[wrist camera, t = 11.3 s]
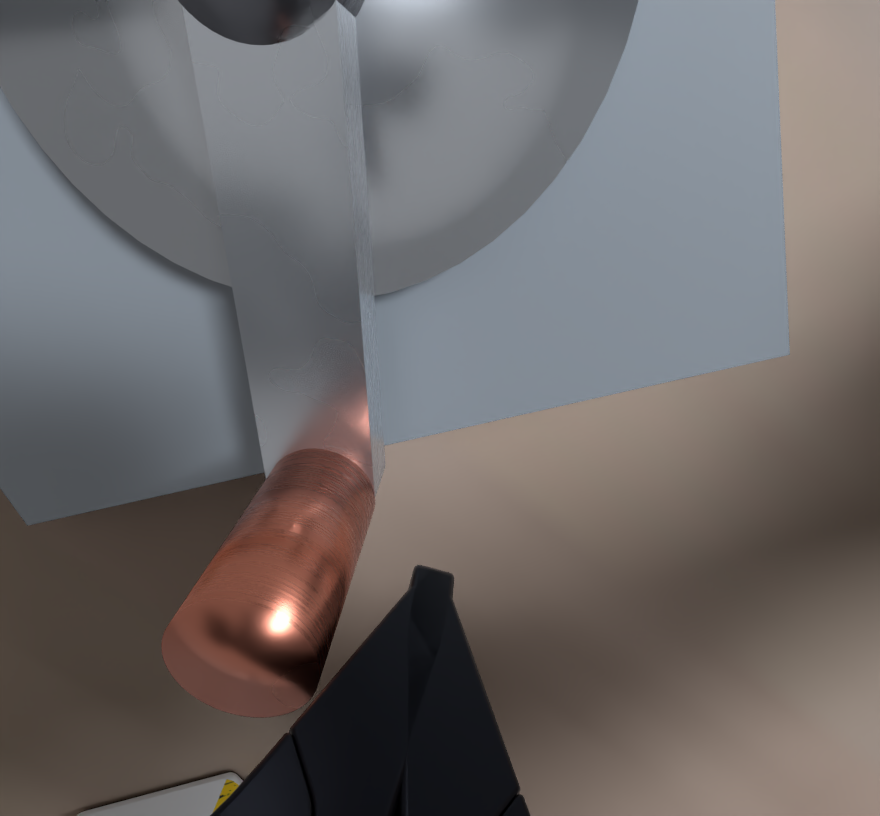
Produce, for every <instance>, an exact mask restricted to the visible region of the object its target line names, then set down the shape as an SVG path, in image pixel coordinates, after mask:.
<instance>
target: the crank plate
mask: <svg viewBox="0 0 880 816" xmlns="http://www.w3.org/2000/svg"><path fill="white" fill-rule="evenodd" d="M374 301H375V316H376V331H377V346H378V361H379V376H380V391H381V406H382V421H383V436H384V445H389V444H393V443H398V442H402V441H407V440H411V439H416V438H420V437H425V436H429V435H433V434H438V433H442V432H447V431H451V430H456V429H460V428H465V427H469V426H474V425H478V424H483V423H487V422H491V421H496V420H500V419H505V418H509V417H514V416H518V415H523V414H527V413H532V412H536V411H540V410H545V409H549V408H554V407H558V406H563V405H567V404H572V403H576V402H581V401H585V400H589V399H594V398H598V397H603V396H607V395H612V394H616V393H621V392H625V391H630V390H634V389H639V388H643V387H647V386H652V385H656V384H661V383H665V382H670V381H674V380H679V379H683V378H688V377H692V376H696V375H701V374H705V373H710V372H714V371H719V370H723V369H728V368H732V367H737V366H741V365H745V364H750V363H754V362H759V361H763V360H768V359H772V358H777V357H781V356H786V355H790V350H789V326H788V302H787V278H786V255H785V231H784V207H783V183H782V159H781V135H780V111H779V87H778V63H777V39H776V15H775V0H639V1H638V4H637V8H636V12H635V15H634V19H633V22H632V26H631V29H630V33H629V37H628V40H627V44H626V46H625V49H624V51H623V54H622V56H621V59H620V61H619V64H618V66H617V69H616V71H615V74H614V76H613V79H612V81H611V84H610V86H609V89H608V91H607V94H606V96H605V98H604V100H603V102H602V104H601V105H600V107H599V109H598V111H597V113H596V115H595V117H594V119H593V120H592V122H591V124H590V126H589V128H588V130H587V132H586V134H585V135H584V137H583V139H582V141H581V142H580V144H579V145H578V147H577V148H576V149H575V151H574V152H573V154H572V155H571V157H570V158H569V160H568V161H567V162H566V164H565V165H564V167H563V168H562V170H561V171H560V173H559V174H558V176H557V177H556V178H555V180H554V181H553V182H552V183H551V184H550V185H549V187H548V188H547V189H546V190H545V191H544V192H543V193H542V194H541V196H540V197H539V198H538V199H537V200H536V201H535V202H534V204H533V205H532V206H531V207H530V208H529V209H528V210H527V211H526V213H524V214H523V215H522V216H521V217H520V218H519V219H518V220H517V221H515V222H514V223H513V224H512V225H511V226H510V227H509V228H508V229H506V230H505V231H504V232H503V233H502V234H501V235H500V236H498V237H497V238H496V239H495V240H494V241H493V242H491V243H490V244H488V245H487V246H485V247H484V248H482V249H481V250H479V251H478V252H476V253H475V254H473V255H472V256H470V257H469V258H467V259H466V260H464V261H463V262H462V263H460V264H458V265H456V266H454V267H452V268H450V269H448V270H446V271H444V272H442V273H440V274H438V275H436V276H434V277H432V278H430V279H428V280H426V281H423V282H420V283H417V284H414V285H411V286H408V287H405V288H402V289H400V290H397V291H394V292H391V293H386V294H381V295H375V296H374ZM264 472H265V471H264V465H263V459H262V454H261V448H260V442H259V437H258V431H257V425H256V420H255V414H254V408H253V403H252V397H251V391H250V386H249V380H248V375H247V369H246V363H245V358H244V352H243V346H242V341H241V335H240V329H239V324H238V318H237V312H236V307H235V301H234V295H233V290H232V287H230V286H227V285H224V284H221V283H218V282H215V281H212V280H209V279H207V278H205V277H203V276H201V275H199V274H197V273H194V272H192V271H190V270H188V269H186V268H184V267H182V266H180V265H177V264H175V263H173V262H172V261H170V260H169V259H167V258H165V257H164V256H162V255H160V254H159V253H157V252H156V251H154V250H152V249H151V248H149V247H147V246H146V245H144V244H143V243H141V242H139V241H138V240H137V239H135V238H134V237H133V236H132V235H130V234H129V233H128V232H126V231H125V230H124V229H122V228H121V227H120V226H119V225H117V224H116V223H115V222H113V221H112V220H111V219H110V218H108V217H107V216H106V215H105V214H104V213H102V212H101V211H100V210H99V209H98V208H97V207H96V206H95V205H94V204H93V203H92V202H91V201H90V200H89V199H88V198H87V197H86V196H85V195H83V194H82V193H81V192H80V191H79V190H78V189H77V188H76V187H75V186H74V185H73V184H72V183H71V182H70V181H69V179H68V178H67V177H66V176H65V175H64V174H63V172H62V171H61V170H60V169H59V168H58V167H57V166H56V164H55V163H54V162H53V161H52V160H51V159H50V157H49V156H48V155H47V154H46V153H45V152H44V151H43V149H42V148H41V147H40V145H39V144H38V143H37V141H36V140H35V138H34V137H33V136H32V134H31V133H30V131H29V130H28V129H27V127H26V126H25V124H24V123H23V122H22V120H21V119H20V117H19V116H18V115H17V113H16V112H15V110H14V109H13V107H12V106H11V104H10V102H9V101H8V99H7V97H6V96H5V94H4V92H3V90H2V89H1V87H0V489H1V490H2V491H3V493H4V494H5V495H6V497H7V498H8V500H9V501H10V502H11V504H12V505H13V507H14V508H15V509H16V511H17V512H18V513H19V515H20V516H21V518H22V519H23V520H24V522H25V523H26V524H27V526H28V525H32V524H37V523H41V522H46V521H50V520H55V519H59V518H64V517H68V516H73V515H77V514H81V513H86V512H90V511H95V510H99V509H104V508H108V507H113V506H117V505H122V504H126V503H130V502H135V501H139V500H144V499H148V498H153V497H157V496H162V495H166V494H171V493H175V492H179V491H184V490H188V489H193V488H197V487H202V486H206V485H211V484H215V483H220V482H224V481H228V480H233V479H237V478H242V477H246V476H251V475H255V474H260V473H264Z"/></svg>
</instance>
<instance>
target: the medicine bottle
mask: <svg viewBox="0 0 880 816" xmlns="http://www.w3.org/2000/svg"><path fill="white" fill-rule="evenodd" d="M242 782H243V780H242V779H241V778H240V777H239V776H238V775H237V774H235V773H233V772H228V773H225V774H221V775H217V776H214V777H210V778H206V779H202V780H199V781H195V782H191V783H187V784H184V785H180V786H176V787H172V788H169V789H165V790H161V791H158V792H154V793H150V794H146V795H143V796H139V797H135V798H131V799H128V800H124V801H120V802H116V803H113V804H109V805H105V806H102V807H98V808H94V809H90V810H87V811H84V812H81V813H79V814H78V815H77V816H210V815H211V814H212V813H213V812H214V811H215V810H216V809H217V808H218V807H219V806H220V805H221V804H222V803H223V802H224V801H225V800H226V799H227V798H228V797H229V796H230V795H231V794H232V793H233V792H234V791H235V790H236V788H237V787H238V786H239V785H240V784H241V783H242Z"/></svg>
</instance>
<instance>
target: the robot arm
mask: <svg viewBox="0 0 880 816" xmlns="http://www.w3.org/2000/svg"><path fill="white" fill-rule="evenodd" d="M453 586H454V576H453V575H452V574H451V573H449V572H445V571H441V570H437V569H434V568H430V567H426V566H422V565H417V566H415V567H414V570H413V574H412V577H411V581H410V585H409V589H408V591H407V592H406V593H405V594H404V595H403V597H402V598H401V599H400V600H399V601H398V602H397V604H396V605H395V606H394V607H393V608H392V610H391V611H390V612H389V613H388V614H387V615H386V617H385V618H384V619H383V620H382V621H381V622H380V624H379V625H378V626H377V627H376V628H375V629H374V631H373V632H372V633H371V634H370V635H369V636H368V638H367V639H366V640H365V641H364V642H363V643H362V645H361V646H360V647H359V648H358V649H357V650H356V652H355V653H354V654H353V655H352V656H351V658H350V659H349V660H348V661H347V662H346V663H345V665H344V666H343V667H342V668H341V669H340V670H339V672H338V673H337V674H336V675H335V676H334V677H333V679H332V680H331V681H330V682H329V683H328V684H327V686H326V687H325V688H324V689H323V690H322V691H321V693H320V694H319V695H318V696H317V697H316V699H315V700H314V701H313V702H312V703H311V704H310V706H309V707H308V708H307V709H306V710H305V711H304V713H303V714H302V715H301V716H300V717H299V718H298V720H297V721H296V722H295V723H294V724H293V725H292V727H291V728H290V731H289V733H286V734H284V735H283V737H282V738H281V739H280V740H279V741H278V742H277V744H276V745H275V746H274V747H273V748H272V749H271V751H270V752H269V753H268V754H267V755H266V756H265V758H264V759H263V760H262V761H261V762H260V763H259V764H258V765H257V767H256V768H255V769H254V770H253V771H252V772H251V773H250V774H249V775H248V776H247V777H246V779H245V780H244V781H243V782H242V783H241V784H240V785H239V786H238V787H237V788H236V790H235V791H234V792H233V793H232V794H231V795H230V796H229V797H228V798H227V799H226V800H225V801H224V802H223V803H222V804H221V805H220V806H219V807H218V808H217V809H216V810H215V811H214V812H213V813H212V814H211V815H210V816H530V813H529V810H528V808H527V805H526V802H525V799H524V797H523V795H520V794H519V792H520V786H519V783H518V780H517V778H516V775H515V772H514V769H513V767H512V764H511V761H510V758H509V755H508V753H507V750H506V747H505V744H504V741H503V739H502V736H501V733H500V730H499V727H498V725H497V722H496V719H495V716H494V714H493V711H492V708H491V705H490V702H489V700H488V697H487V694H486V691H485V688H484V686H483V683H482V680H481V677H480V675H479V672H478V669H477V666H476V663H475V661H474V658H473V655H472V652H471V649H470V647H469V644H468V641H467V638H466V635H465V633H464V630H463V627H462V624H461V622H460V619H459V616H458V613H457V610H456V608H455V605H454V602H453V599H452V598H453Z"/></svg>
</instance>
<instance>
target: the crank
mask: <svg viewBox="0 0 880 816" xmlns="http://www.w3.org/2000/svg"><path fill="white" fill-rule="evenodd" d="M638 1H639V0H0V87H1V89H2V90H3V92H4V94H5V96H6V97H7V99H8V101H9V102H10V104H11V106H12V107H13V109H14V110H15V112H16V113H17V115H18V116H19V117H20V119H21V120H22V122H23V123H24V124H25V126H26V127H27V129H28V130H29V131H30V133H31V134H32V136H33V137H34V138H35V140H36V141H37V143H38V144H39V145H40V147H41V148H42V149H43V151H44V152H45V153H46V154H47V155H48V156H49V157H50V159H51V160H52V161H53V162H54V163H55V164H56V166H57V167H58V168H59V169H60V170H61V171H62V172H63V174H64V175H65V176H66V177H67V178H68V179H69V181H70V182H71V183H72V184H73V185H74V186H75V187H76V188H77V189H78V190H79V191H80V192H81V193H82V194H83V195H85V196H86V197H87V198H88V199H89V200H90V201H91V202H92V203H93V204H94V205H95V206H96V207H97V208H98V209H99V210H100V211H101V212H102V213H104V214H105V215H106V216H107V217H108V218H110V219H111V220H112V221H113V222H115V223H116V224H117V225H119V226H120V227H121V228H122V229H124V230H125V231H126V232H128V233H129V234H130V235H132V236H133V237H134V238H135V239H137V240H138V241H139V242H141V243H143V244H144V245H146V246H147V247H149V248H151V249H152V250H154V251H156V252H157V253H159V254H160V255H162V256H164V257H165V258H167V259H169V260H170V261H172V262H173V263H175V264H177V265H180V266H182V267H184V268H186V269H188V270H190V271H192V272H194V273H197V274H199V275H201V276H203V277H205V278H207V279H209V280H212V281H215V282H218V283H221V284H224V285H227V286H230V287H232V290H233V295H234V301H235V307H236V312H237V318H238V324H239V329H240V335H241V341H242V346H243V352H244V358H245V363H246V369H247V375H248V380H249V386H250V391H251V397H252V403H253V408H254V414H255V420H256V425H257V431H258V437H259V442H260V448H261V454H262V459H263V465H264V471H265V476H266V480H265V481H264V483H263V484H262V486H261V487H260V489H259V490H258V492H257V493H256V495H255V496H254V498H253V499H252V501H251V502H250V504H249V505H248V507H247V508H246V510H245V511H244V513H243V514H242V516H241V517H240V519H239V520H238V522H237V523H236V525H235V526H234V528H233V529H232V531H231V532H230V533H229V535H228V536H227V538H226V539H225V541H224V542H223V544H222V545H221V547H220V548H219V550H218V551H217V553H216V554H215V556H214V557H213V559H212V560H211V562H210V563H209V565H208V566H207V568H206V569H205V571H204V572H203V574H202V575H201V577H200V578H199V580H198V581H197V583H196V584H195V586H194V587H193V589H192V590H191V592H190V593H189V595H188V596H187V598H186V599H185V601H184V602H183V604H182V605H181V607H180V608H179V609H178V611H177V612H176V614H175V615H174V617H173V618H172V620H171V621H170V623H169V624H168V626H167V628H166V629H165V631H164V634H163V637H162V644H161V647H162V655H163V659H164V662H165V664H166V667H167V668H168V670H169V672H170V673H171V675H172V676H173V677H174V679H175V680H176V681H177V682H178V683H179V684H180V685H181V686H182V687H183V688H184V689H185V690H186V691H187V692H188V693H190V694H191V695H192V696H194V697H195V698H197V699H198V700H200V701H202V702H203V703H205V704H207V705H209V706H211V707H214V708H216V709H219V710H221V711H224V712H227V713H231V714H235V715H240V716H245V717H258V718H264V717H275V716H280V715H284V714H287V713H290V712H292V711H295V710H297V709H298V708H300V707H302V706H303V705H304V704H306V703H307V702H308V701H309V700H310V699H311V697H312V696H313V695H314V693H315V691H316V689H317V686H318V683H319V680H320V677H321V674H322V671H323V667H324V664H325V661H326V658H327V655H328V652H329V649H330V646H331V642H332V639H333V636H334V633H335V630H336V627H337V624H338V621H339V618H340V614H341V611H342V608H343V605H344V602H345V599H346V596H347V593H348V589H349V586H350V583H351V580H352V577H353V574H354V571H355V568H356V564H357V561H358V558H359V555H360V552H361V549H362V546H363V543H364V540H365V536H366V533H367V530H368V527H369V524H370V521H371V518H372V515H373V511H374V507H375V496H376V493H377V490H378V487H379V484H380V481H381V478H382V475H383V472H384V469H385V451H384V436H383V421H382V406H381V391H380V376H379V361H378V346H377V331H376V316H375V301H374V296H375V295H381V294H386V293H391V292H394V291H397V290H400V289H402V288H405V287H408V286H411V285H414V284H417V283H420V282H423V281H426V280H428V279H430V278H432V277H434V276H436V275H438V274H440V273H442V272H444V271H446V270H448V269H450V268H452V267H454V266H456V265H458V264H460V263H462V262H463V261H464V260H466V259H467V258H469V257H470V256H472V255H473V254H475V253H476V252H478V251H479V250H481V249H482V248H484V247H485V246H487V245H488V244H490V243H491V242H493V241H494V240H495V239H496V238H497V237H498V236H500V235H501V234H502V233H503V232H504V231H505V230H506V229H508V228H509V227H510V226H511V225H512V224H513V223H514V222H515V221H517V220H518V219H519V218H520V217H521V216H522V215H523V214H524V213H526V211H527V210H528V209H529V208H530V207H531V206H532V205H533V204H534V202H535V201H536V200H537V199H538V198H539V197H540V196H541V194H542V193H543V192H544V191H545V190H546V189H547V188H548V187H549V185H550V184H551V183H552V182H553V181H554V180H555V178H556V177H557V176H558V174H559V173H560V171H561V170H562V168H563V167H564V165H565V164H566V162H567V161H568V160H569V158H570V157H571V155H572V154H573V152H574V151H575V149H576V148H577V147H578V145H579V144H580V142H581V141H582V139H583V137H584V135H585V134H586V132H587V130H588V128H589V126H590V124H591V122H592V120H593V119H594V117H595V115H596V113H597V111H598V109H599V107H600V105H601V104H602V102H603V100H604V98H605V96H606V94H607V91H608V89H609V86H610V84H611V81H612V79H613V76H614V74H615V71H616V69H617V66H618V64H619V61H620V59H621V56H622V54H623V51H624V49H625V46H626V44H627V40H628V37H629V33H630V29H631V26H632V22H633V19H634V15H635V12H636V8H637V4H638Z"/></svg>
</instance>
